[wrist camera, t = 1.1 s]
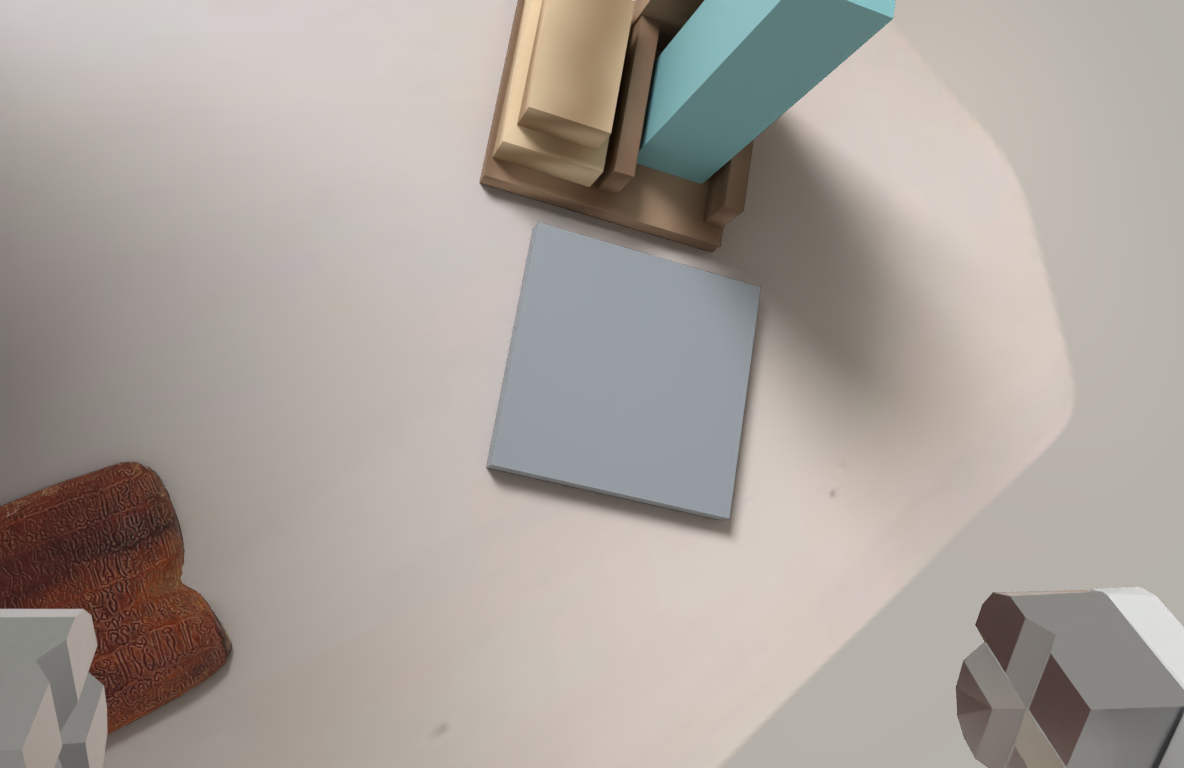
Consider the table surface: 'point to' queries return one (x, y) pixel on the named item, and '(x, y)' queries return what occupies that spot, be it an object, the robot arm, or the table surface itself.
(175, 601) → the wooden tablet
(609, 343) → the slate mat
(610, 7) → the upper oak offcut
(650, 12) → the walnut rack
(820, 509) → the table surface
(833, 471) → the table surface
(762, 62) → the tall teal block
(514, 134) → the lower oak offcut
